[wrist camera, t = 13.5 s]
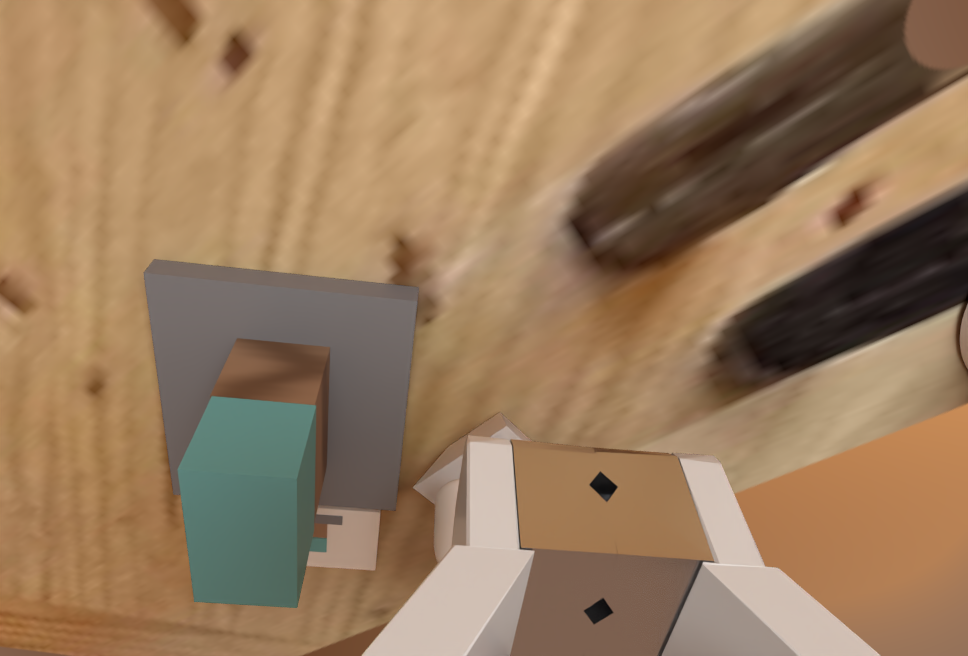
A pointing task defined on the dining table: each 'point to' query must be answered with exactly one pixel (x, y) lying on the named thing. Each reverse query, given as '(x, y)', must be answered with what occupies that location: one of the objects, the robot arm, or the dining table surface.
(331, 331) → the baseplate
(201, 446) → the teal block
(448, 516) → the figurine
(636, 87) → the dining table surface
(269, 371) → the walnut block
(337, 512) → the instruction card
